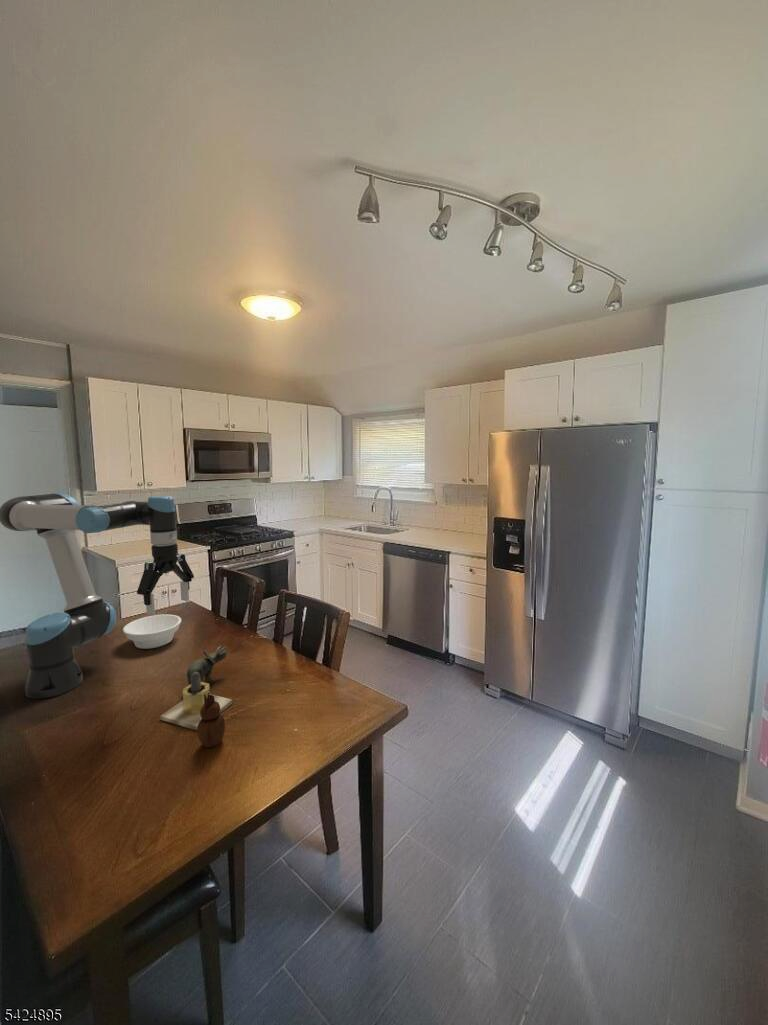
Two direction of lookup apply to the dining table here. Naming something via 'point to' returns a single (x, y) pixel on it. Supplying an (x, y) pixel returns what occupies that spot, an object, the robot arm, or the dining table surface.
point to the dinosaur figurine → (206, 665)
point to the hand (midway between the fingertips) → (168, 607)
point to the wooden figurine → (210, 723)
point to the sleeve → (194, 699)
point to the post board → (191, 721)
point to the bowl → (152, 630)
